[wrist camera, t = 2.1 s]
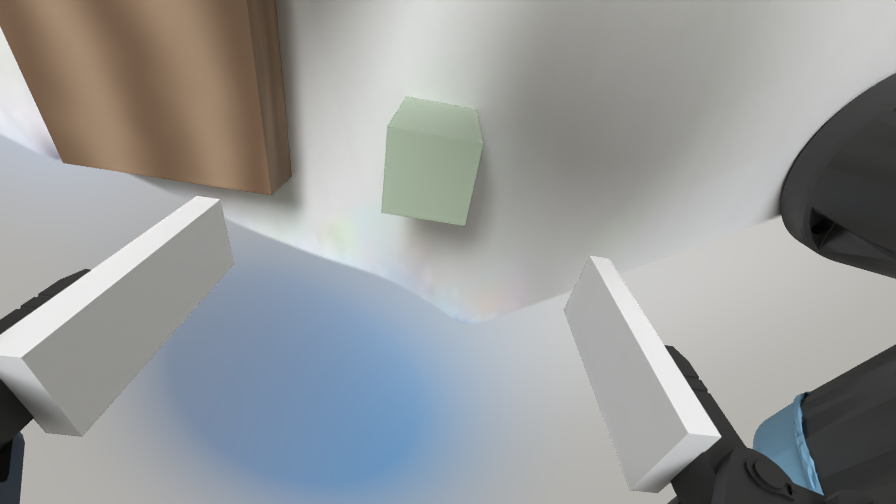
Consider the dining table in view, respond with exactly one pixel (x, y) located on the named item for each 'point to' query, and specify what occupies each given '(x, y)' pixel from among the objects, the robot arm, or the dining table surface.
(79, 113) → the walnut plinth
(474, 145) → the sage block
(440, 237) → the dining table surface
